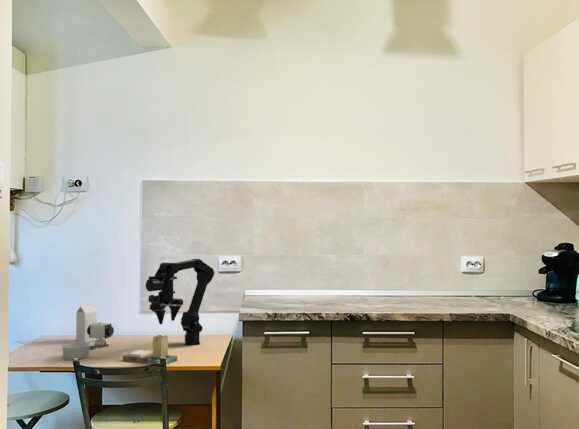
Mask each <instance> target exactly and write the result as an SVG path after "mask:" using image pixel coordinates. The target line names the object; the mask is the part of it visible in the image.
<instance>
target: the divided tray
mask: <svg viewBox="0 0 579 429" xmlns="http://www.w3.org/2000/svg"><path fill="white" fill-rule="evenodd" d="M166 360H167V364H168V365H170V364H169V363H171V362H173V363H175V362H177V361H178V356H177V355H171V354H168V358H166ZM122 361H124V362H132V363H139V364H145V365H146V364H147V365H152V364H157V363H159V362H160V360H158V359H153V352H152V351H151V350H143V349H138V350H135V351H132V352H129V353H127V354H125V355H122ZM174 361H175V362H174ZM171 364H172V363H171Z"/></svg>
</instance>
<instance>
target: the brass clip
mask: <svg viewBox="0 0 579 429" xmlns="http://www.w3.org/2000/svg"><path fill="white" fill-rule="evenodd" d="M168 349H169V336H168V335H162V334H159V335H158V334H157V335H154V336H152V353H153V359H158V360H160V357H161V356H163V357H166V358H168V355H169V354H168V353H169V352H168V351H169V350H168Z"/></svg>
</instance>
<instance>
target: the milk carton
mask: <svg viewBox="0 0 579 429" xmlns="http://www.w3.org/2000/svg"><path fill="white" fill-rule="evenodd" d="M75 318H76V321H75V322H76V324H75V325H76V326H75V329H76V331H75V333H76V335H75V342H88V343H91V342H95V341H96V340H98V339H96V338H89V335H88V334H87V328H88V327H89V325H91V324H94V323H98V310H97V309H96V307H95V305H94V302H89V303H82V304H80V307H79V308H78V309H77V310H76V316H75Z"/></svg>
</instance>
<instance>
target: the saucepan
mask: <svg viewBox="0 0 579 429" xmlns="http://www.w3.org/2000/svg"><path fill="white" fill-rule="evenodd" d="M90 344H91V342H77V341H75V342H68V343H64V344H63V345H62V346H61V347H62V358H65V360H70V361H72V360H73V359H74V358H79V359H78V360H81V359H85V358H86V357H88V356H89V355H90V351H91V350H92V351H93V350H94V349H96V348H97V347H102V348H105V347H109V344H107V343H106V345H94V344H93V345H90ZM73 361H74V360H73Z"/></svg>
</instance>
